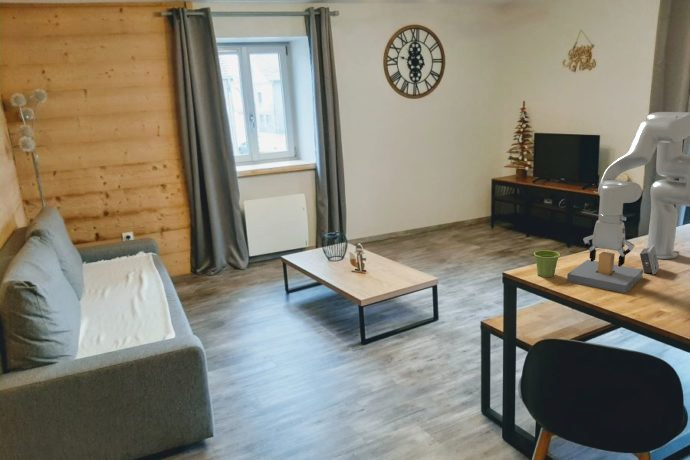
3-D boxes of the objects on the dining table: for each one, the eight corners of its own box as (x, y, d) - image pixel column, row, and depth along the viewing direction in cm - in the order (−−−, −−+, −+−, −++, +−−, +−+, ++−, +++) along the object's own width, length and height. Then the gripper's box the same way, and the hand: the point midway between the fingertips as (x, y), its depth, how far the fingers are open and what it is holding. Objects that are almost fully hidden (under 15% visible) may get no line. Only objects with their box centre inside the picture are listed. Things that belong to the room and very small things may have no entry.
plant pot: (532, 278, 198) (533, 256, 196) (533, 270, 207) (534, 249, 204) (558, 280, 195) (560, 258, 192) (558, 271, 203) (559, 250, 201)
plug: (601, 276, 196) (603, 251, 193) (612, 279, 193) (614, 253, 190) (597, 279, 193) (599, 254, 191) (608, 282, 190) (610, 256, 188)
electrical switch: (655, 275, 194) (655, 251, 193) (639, 274, 198) (639, 250, 196) (659, 268, 201) (659, 245, 200) (644, 267, 205) (644, 244, 203)
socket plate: (586, 266, 207) (587, 259, 206) (642, 277, 193) (643, 269, 193) (567, 281, 193) (567, 273, 192) (625, 293, 180) (626, 285, 179)
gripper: (639, 219, 184) (635, 264, 188) (589, 213, 196) (586, 256, 200) (633, 224, 179) (628, 270, 183) (581, 217, 190) (578, 261, 195)
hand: (606, 263), depth 192 cm, fingers open, 9 cm apart
